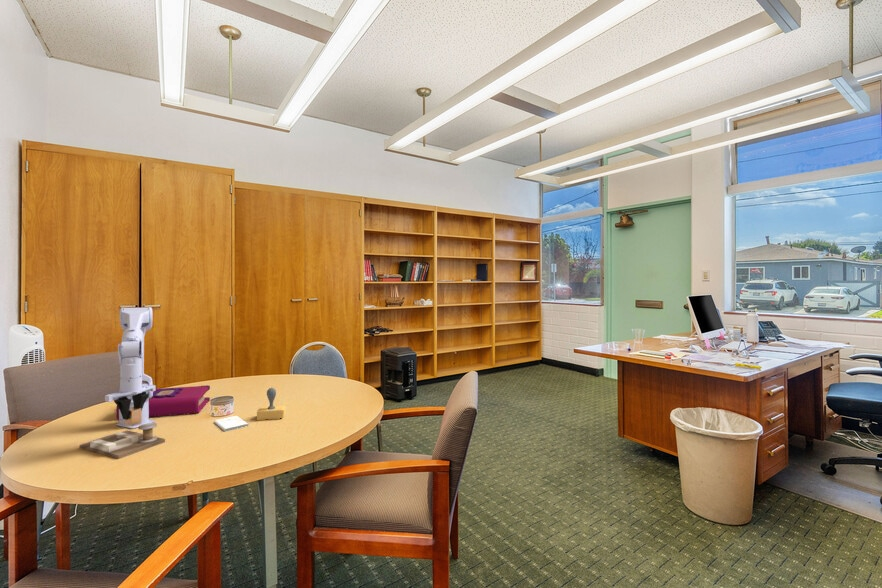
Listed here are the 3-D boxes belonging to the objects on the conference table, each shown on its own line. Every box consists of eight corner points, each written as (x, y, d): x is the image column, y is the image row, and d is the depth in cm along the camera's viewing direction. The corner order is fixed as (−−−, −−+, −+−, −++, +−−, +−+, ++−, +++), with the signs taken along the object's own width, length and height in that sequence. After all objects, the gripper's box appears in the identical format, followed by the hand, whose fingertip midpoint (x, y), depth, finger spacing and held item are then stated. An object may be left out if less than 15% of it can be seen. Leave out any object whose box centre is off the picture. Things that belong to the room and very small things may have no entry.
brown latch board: (79, 448, 130) (79, 429, 129) (126, 433, 143) (126, 416, 142) (118, 458, 122) (118, 439, 122) (165, 441, 135) (164, 424, 135)
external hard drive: (224, 433, 145) (214, 424, 154) (248, 427, 151) (237, 419, 160) (224, 428, 145) (214, 420, 154) (248, 423, 151) (237, 415, 160)
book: (198, 415, 164) (198, 396, 163) (115, 421, 155) (115, 402, 155) (210, 400, 184) (210, 383, 183) (138, 405, 175) (137, 388, 175)
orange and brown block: (124, 424, 133) (123, 409, 133) (133, 421, 136) (133, 406, 136) (131, 426, 132) (131, 411, 132) (141, 423, 135) (141, 408, 135)
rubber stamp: (256, 420, 157) (256, 390, 157) (259, 415, 163) (259, 386, 162) (283, 419, 159) (283, 389, 159) (285, 414, 165) (285, 385, 164)
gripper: (114, 383, 126) (115, 426, 126) (161, 373, 139) (161, 412, 140) (100, 381, 128) (101, 423, 129) (147, 371, 142) (148, 409, 142)
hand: (131, 417), depth 134 cm, fingers closed on orange and brown block, 3 cm apart
